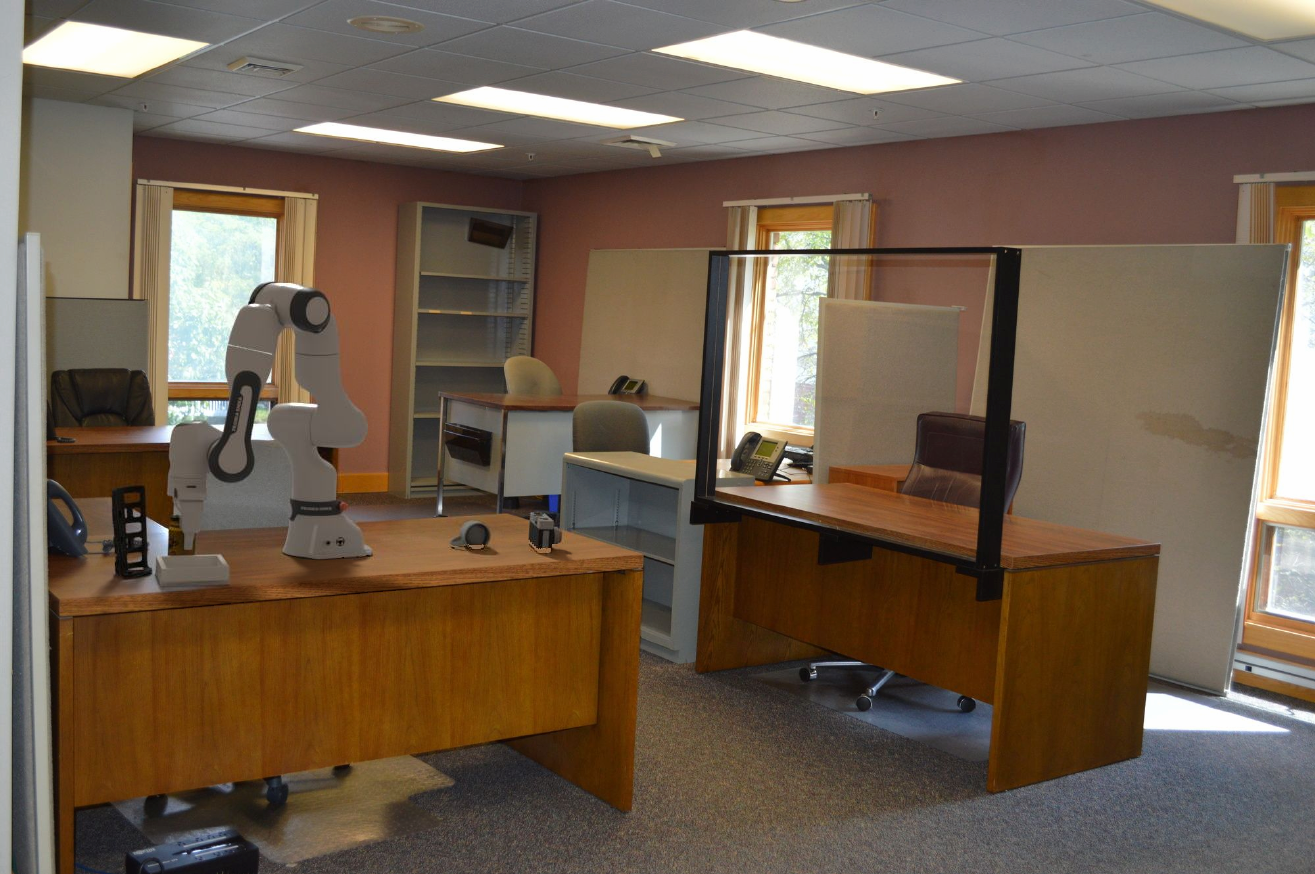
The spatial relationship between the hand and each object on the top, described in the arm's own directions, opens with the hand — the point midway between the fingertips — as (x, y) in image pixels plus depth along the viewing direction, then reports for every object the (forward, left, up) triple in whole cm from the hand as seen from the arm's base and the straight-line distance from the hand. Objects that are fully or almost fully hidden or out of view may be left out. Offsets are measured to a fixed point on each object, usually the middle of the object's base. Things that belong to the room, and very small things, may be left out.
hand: (185, 545), depth 269 cm
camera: (-97, -9, -5) cm, 98 cm away
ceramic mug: (-76, -14, -5) cm, 77 cm away
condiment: (0, -1, -5) cm, 5 cm away
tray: (0, +14, -5) cm, 15 cm away
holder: (+12, +7, -5) cm, 15 cm away
